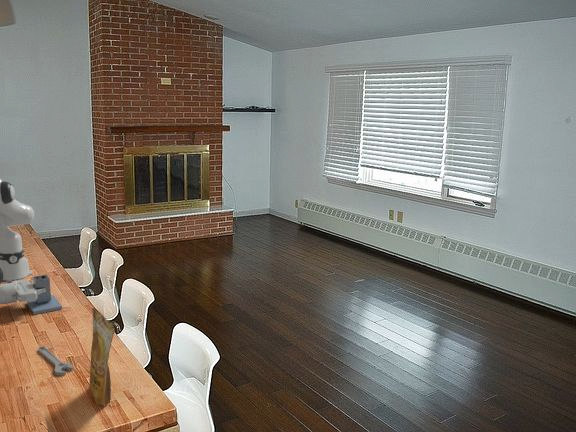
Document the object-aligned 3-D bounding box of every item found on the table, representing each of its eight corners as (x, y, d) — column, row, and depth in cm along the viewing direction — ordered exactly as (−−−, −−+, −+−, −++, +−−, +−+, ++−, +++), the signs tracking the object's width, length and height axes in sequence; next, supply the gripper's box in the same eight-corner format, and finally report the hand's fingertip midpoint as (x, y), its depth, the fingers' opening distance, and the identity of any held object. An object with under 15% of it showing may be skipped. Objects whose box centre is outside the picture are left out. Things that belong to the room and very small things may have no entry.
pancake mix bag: (106, 378, 191) (101, 304, 184) (119, 406, 175) (115, 325, 168) (86, 383, 187) (81, 307, 181) (98, 411, 171) (92, 329, 165)
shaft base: (26, 303, 255) (24, 277, 252) (54, 297, 261) (52, 273, 258) (33, 314, 242) (31, 288, 239) (62, 309, 249) (60, 283, 246)
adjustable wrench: (37, 351, 210) (36, 347, 210) (54, 347, 214) (53, 342, 214) (57, 377, 191) (57, 373, 191) (76, 372, 195) (75, 367, 195)
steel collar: (34, 299, 253) (32, 276, 251) (48, 296, 257) (46, 274, 254) (37, 303, 249) (35, 280, 246) (51, 300, 252) (49, 278, 249)
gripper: (14, 293, 235) (48, 287, 243) (6, 279, 251) (38, 274, 259) (15, 307, 236) (49, 300, 244) (7, 292, 253) (39, 287, 260)
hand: (43, 287), depth 252 cm, fingers closed on steel collar, 6 cm apart
